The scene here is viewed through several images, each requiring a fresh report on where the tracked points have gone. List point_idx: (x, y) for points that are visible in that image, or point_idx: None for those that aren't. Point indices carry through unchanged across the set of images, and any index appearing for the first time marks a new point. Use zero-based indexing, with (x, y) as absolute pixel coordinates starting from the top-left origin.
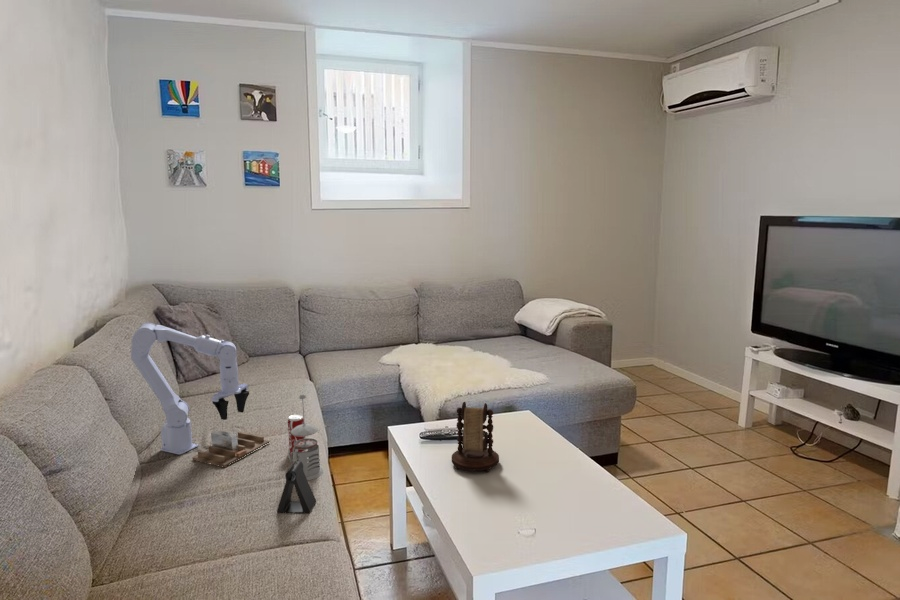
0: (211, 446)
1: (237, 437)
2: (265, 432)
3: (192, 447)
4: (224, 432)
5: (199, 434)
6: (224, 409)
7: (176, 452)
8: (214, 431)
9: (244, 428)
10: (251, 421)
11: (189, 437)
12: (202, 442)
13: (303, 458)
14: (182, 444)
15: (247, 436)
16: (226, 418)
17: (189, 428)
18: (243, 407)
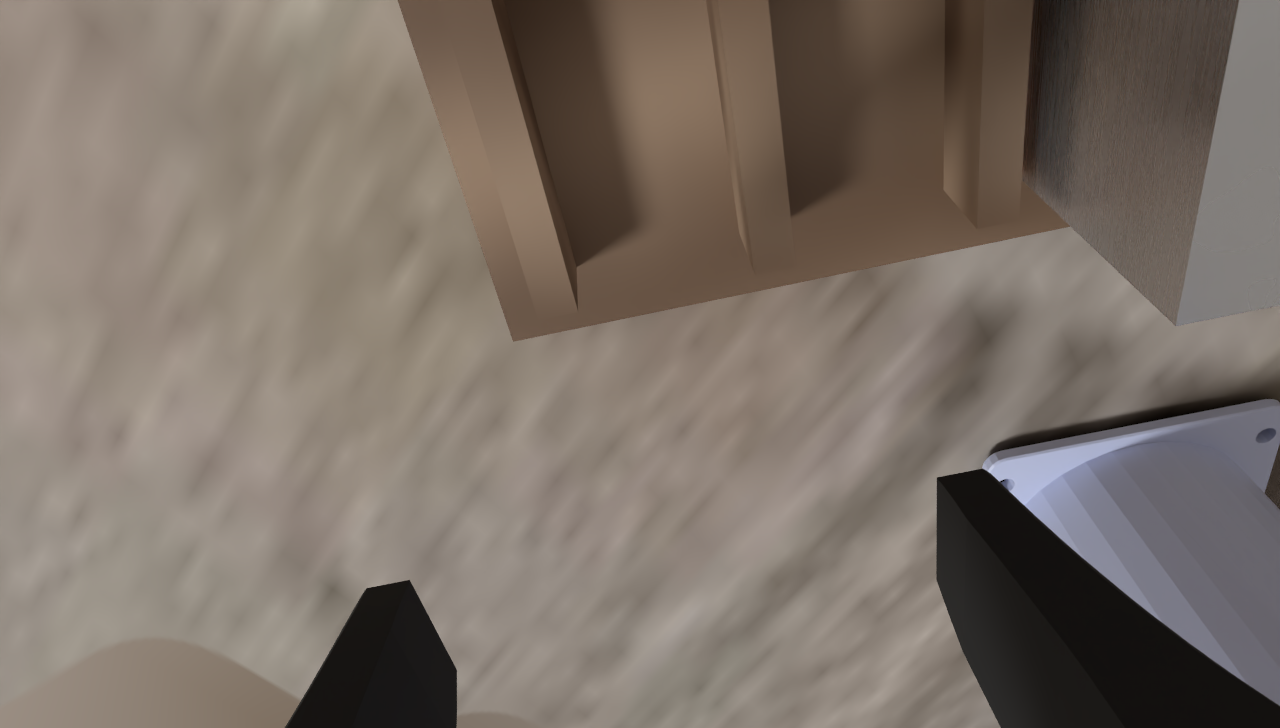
0: None
1: (583, 274)
2: (83, 176)
3: (1087, 449)
4: (1267, 55)
5: (739, 684)
6: (1268, 702)
7: (1265, 457)
8: (1258, 301)
9: (292, 518)
10: (119, 627)
11: (1189, 558)
12: (876, 512)
13: None
14: (1256, 503)
15: (517, 80)
16: (969, 488)
17: (1254, 675)
18: (348, 683)
